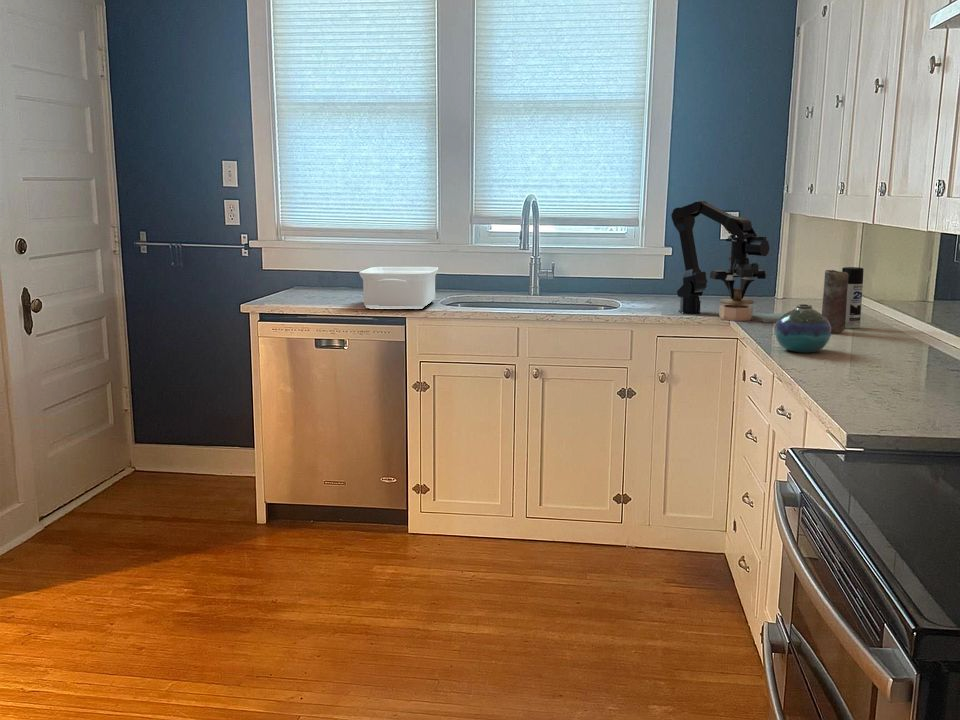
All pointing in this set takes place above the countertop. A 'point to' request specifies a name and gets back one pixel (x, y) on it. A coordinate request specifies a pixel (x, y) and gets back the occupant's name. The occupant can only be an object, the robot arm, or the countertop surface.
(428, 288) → the white storage tub
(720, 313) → the bowl
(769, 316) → the mat
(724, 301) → the lid
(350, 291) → the countertop surface
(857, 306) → the spray can
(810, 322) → the vase
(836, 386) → the countertop surface
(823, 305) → the candle
